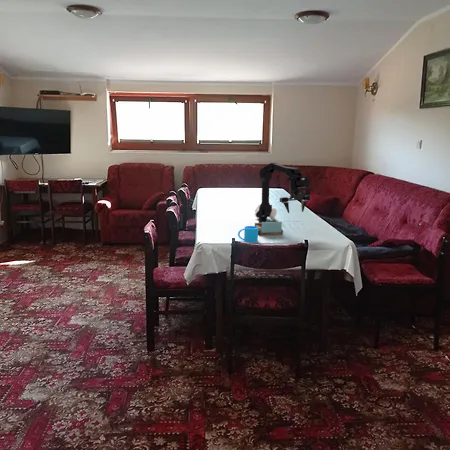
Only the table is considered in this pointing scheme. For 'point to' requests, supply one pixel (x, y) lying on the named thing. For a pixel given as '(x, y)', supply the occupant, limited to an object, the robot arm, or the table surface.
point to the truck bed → (266, 233)
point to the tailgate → (271, 227)
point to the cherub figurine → (272, 215)
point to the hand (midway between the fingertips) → (295, 212)
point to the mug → (250, 234)
